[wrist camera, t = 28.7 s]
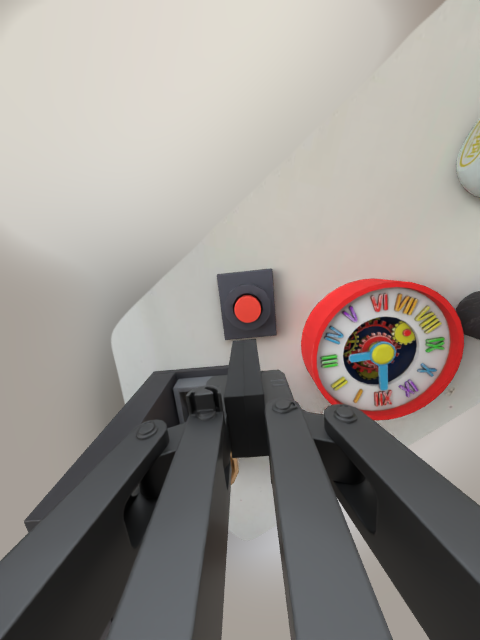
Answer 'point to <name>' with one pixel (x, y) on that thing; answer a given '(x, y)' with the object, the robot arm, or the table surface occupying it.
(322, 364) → the toy clock
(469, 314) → the travel mug
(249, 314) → the button
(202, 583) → the robot arm
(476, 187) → the air freshener
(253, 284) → the switch block
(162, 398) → the coffee maker
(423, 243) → the table surface
